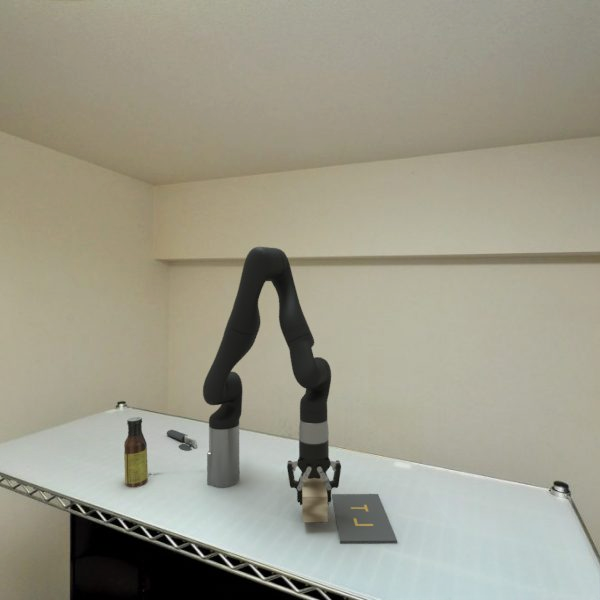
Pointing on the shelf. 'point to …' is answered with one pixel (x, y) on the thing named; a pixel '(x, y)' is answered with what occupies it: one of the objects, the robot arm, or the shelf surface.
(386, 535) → the picture tile
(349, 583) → the shelf surface
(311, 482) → the maple block
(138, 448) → the sauce bottle
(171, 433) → the can opener
